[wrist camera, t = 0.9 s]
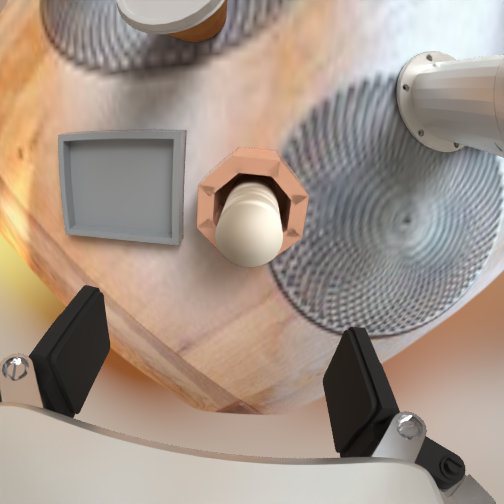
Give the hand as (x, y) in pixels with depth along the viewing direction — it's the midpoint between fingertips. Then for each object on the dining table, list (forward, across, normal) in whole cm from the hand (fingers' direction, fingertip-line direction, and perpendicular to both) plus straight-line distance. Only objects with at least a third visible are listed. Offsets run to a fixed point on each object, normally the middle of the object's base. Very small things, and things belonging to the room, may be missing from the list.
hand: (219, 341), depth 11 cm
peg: (+24, -1, +1) cm, 25 cm away
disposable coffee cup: (+26, +8, -19) cm, 33 cm away
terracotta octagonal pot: (+25, -1, +1) cm, 25 cm away
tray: (+26, +15, +2) cm, 30 cm away
